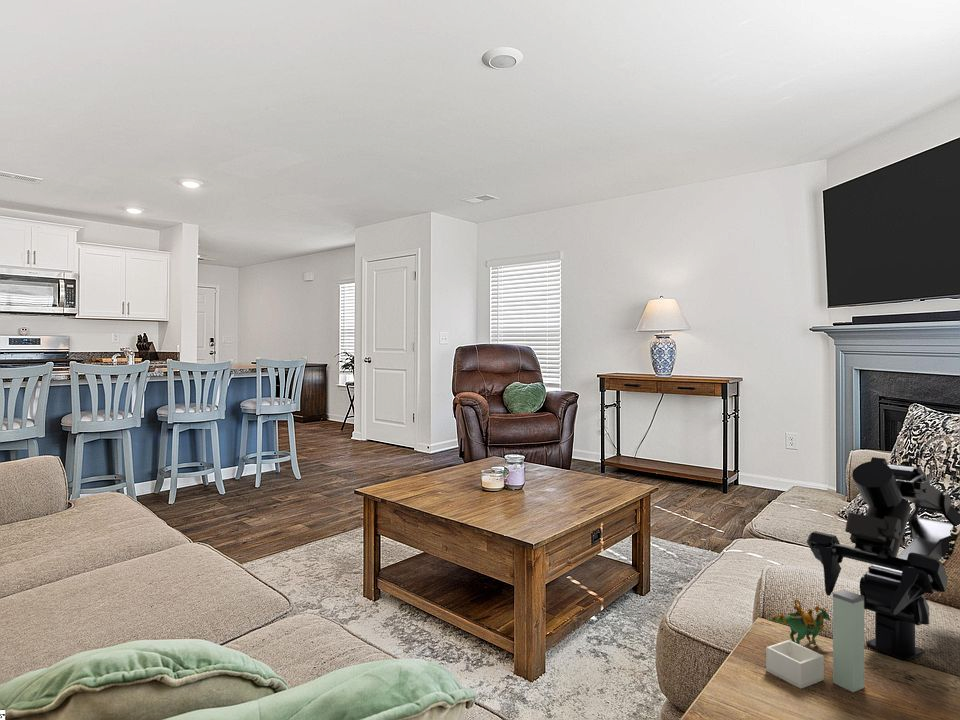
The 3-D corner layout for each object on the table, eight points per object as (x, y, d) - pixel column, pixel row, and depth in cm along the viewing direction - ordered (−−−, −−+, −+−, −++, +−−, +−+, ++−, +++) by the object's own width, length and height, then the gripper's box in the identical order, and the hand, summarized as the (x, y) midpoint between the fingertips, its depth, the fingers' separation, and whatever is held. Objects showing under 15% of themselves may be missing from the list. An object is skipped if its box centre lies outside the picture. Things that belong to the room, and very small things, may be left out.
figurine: (836, 648, 98) (836, 601, 99) (773, 650, 97) (773, 603, 97) (824, 640, 101) (824, 595, 102) (762, 642, 100) (762, 596, 100)
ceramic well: (788, 662, 93) (788, 639, 93) (823, 679, 88) (823, 655, 88) (766, 670, 90) (766, 647, 91) (800, 688, 85) (800, 663, 85)
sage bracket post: (844, 678, 89) (843, 589, 89) (864, 687, 86) (863, 596, 86) (833, 682, 87) (832, 592, 88) (853, 692, 85) (852, 599, 85)
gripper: (811, 485, 100) (781, 558, 94) (941, 506, 85) (917, 594, 79) (830, 523, 105) (803, 595, 98) (957, 549, 90) (935, 636, 83)
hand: (858, 603), depth 89 cm, fingers open, 9 cm apart
